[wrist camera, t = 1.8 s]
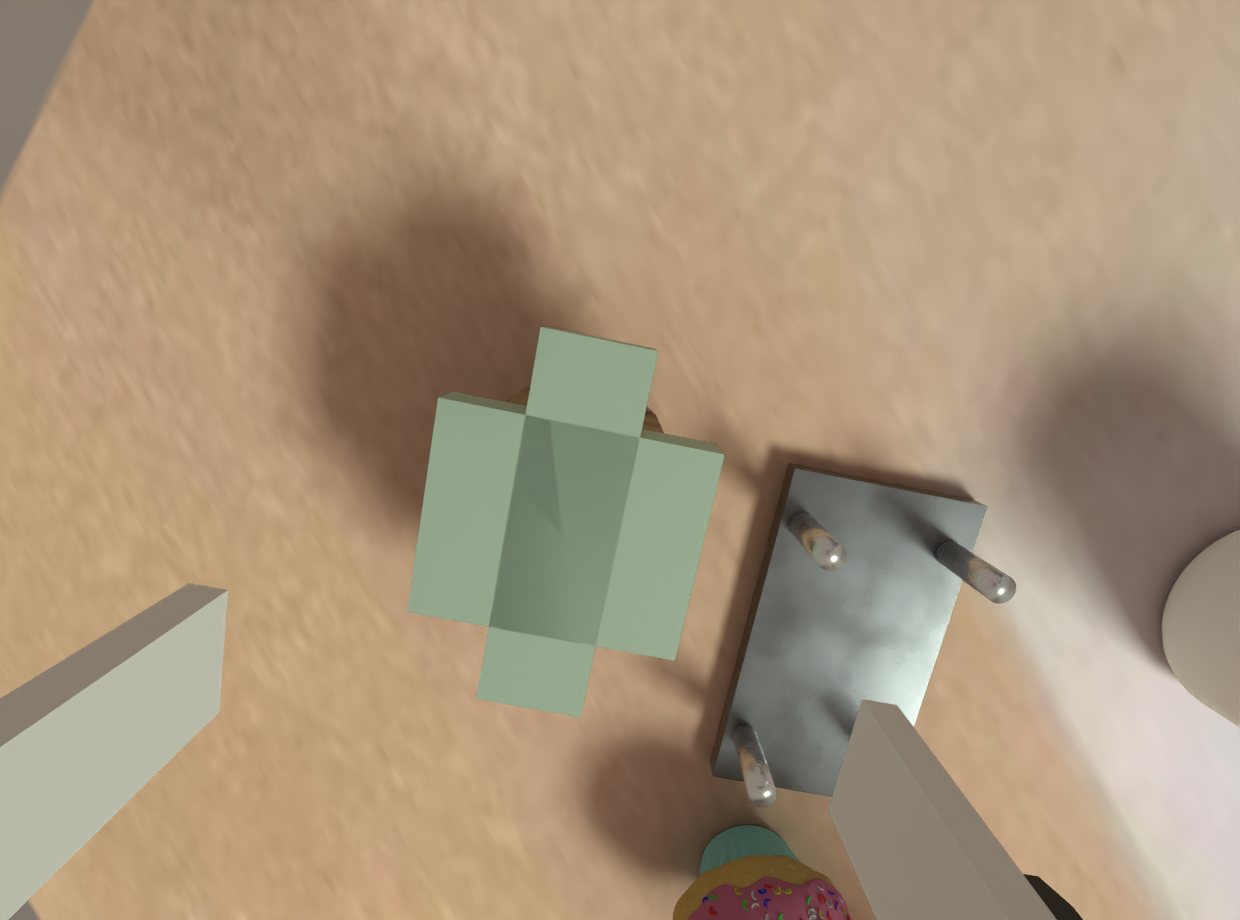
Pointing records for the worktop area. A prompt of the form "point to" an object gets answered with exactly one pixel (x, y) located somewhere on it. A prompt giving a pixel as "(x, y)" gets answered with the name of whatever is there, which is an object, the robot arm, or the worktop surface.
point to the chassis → (843, 622)
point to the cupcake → (758, 882)
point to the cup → (1207, 627)
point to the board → (562, 522)
